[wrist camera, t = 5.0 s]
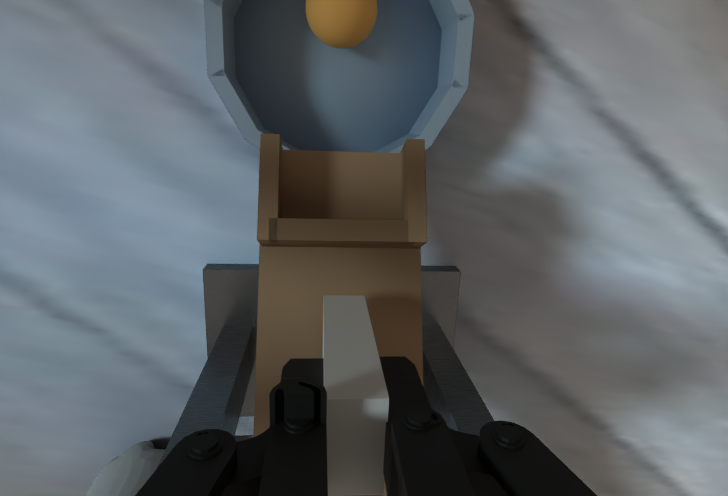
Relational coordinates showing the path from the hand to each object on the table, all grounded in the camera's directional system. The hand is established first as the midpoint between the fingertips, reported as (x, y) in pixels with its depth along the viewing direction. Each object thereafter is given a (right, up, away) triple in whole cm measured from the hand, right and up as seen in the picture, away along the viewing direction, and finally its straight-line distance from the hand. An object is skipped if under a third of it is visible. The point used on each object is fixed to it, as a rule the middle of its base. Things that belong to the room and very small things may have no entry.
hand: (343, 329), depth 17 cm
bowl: (-1, +13, +6) cm, 14 cm away
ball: (0, +14, +4) cm, 14 cm away
